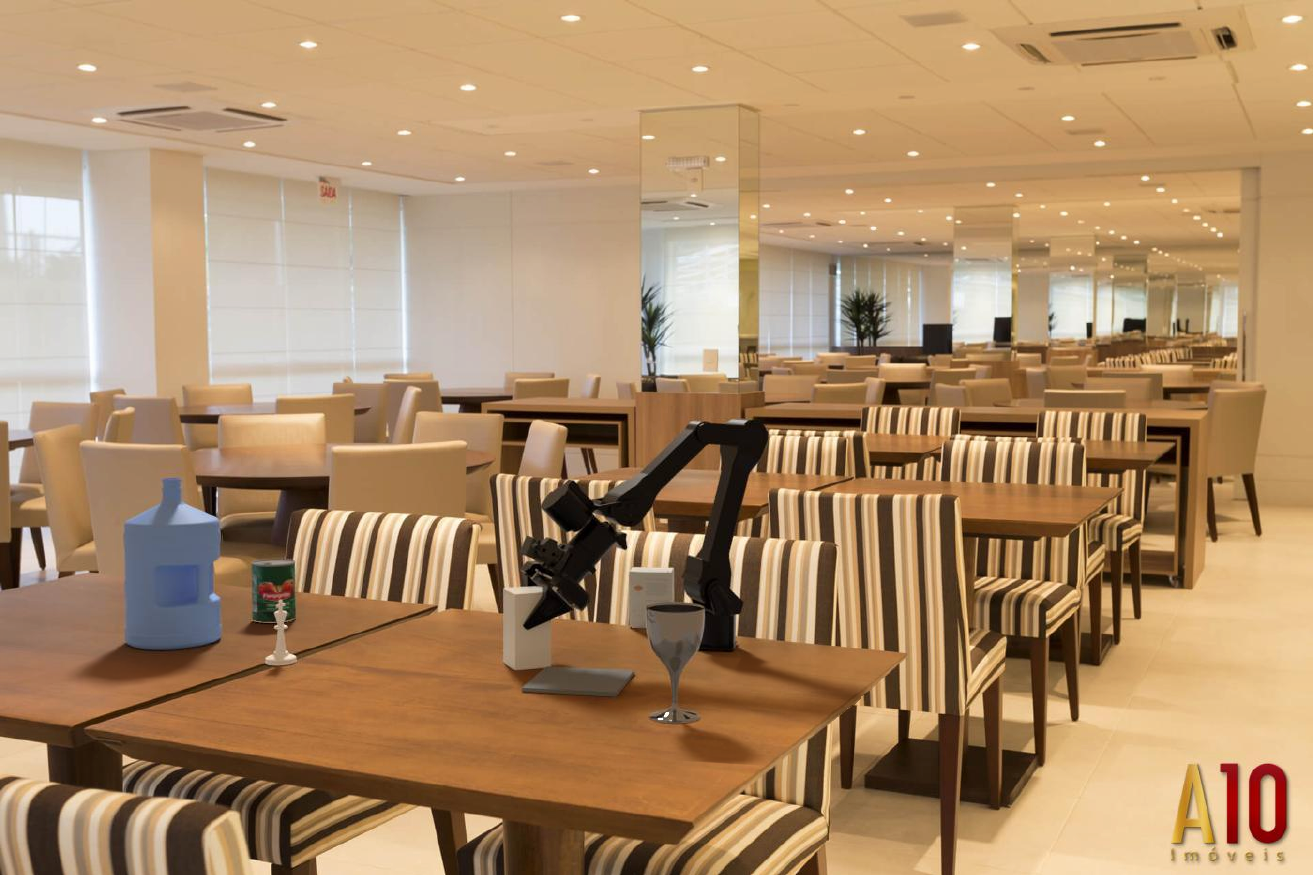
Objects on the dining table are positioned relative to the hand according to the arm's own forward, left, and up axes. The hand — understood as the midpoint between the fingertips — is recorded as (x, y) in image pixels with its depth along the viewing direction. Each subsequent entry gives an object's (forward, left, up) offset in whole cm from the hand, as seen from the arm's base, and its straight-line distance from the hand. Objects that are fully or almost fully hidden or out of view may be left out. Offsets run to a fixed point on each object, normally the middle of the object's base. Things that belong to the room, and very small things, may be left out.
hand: (518, 624), depth 206 cm
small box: (-15, -36, -7) cm, 39 cm away
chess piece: (+38, +5, -7) cm, 39 cm away
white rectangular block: (-1, -1, -7) cm, 7 cm away
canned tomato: (+55, -27, -7) cm, 61 cm away
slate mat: (-12, +9, -7) cm, 17 cm away
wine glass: (-29, +25, -7) cm, 39 cm away
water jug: (+63, -6, -7) cm, 64 cm away
